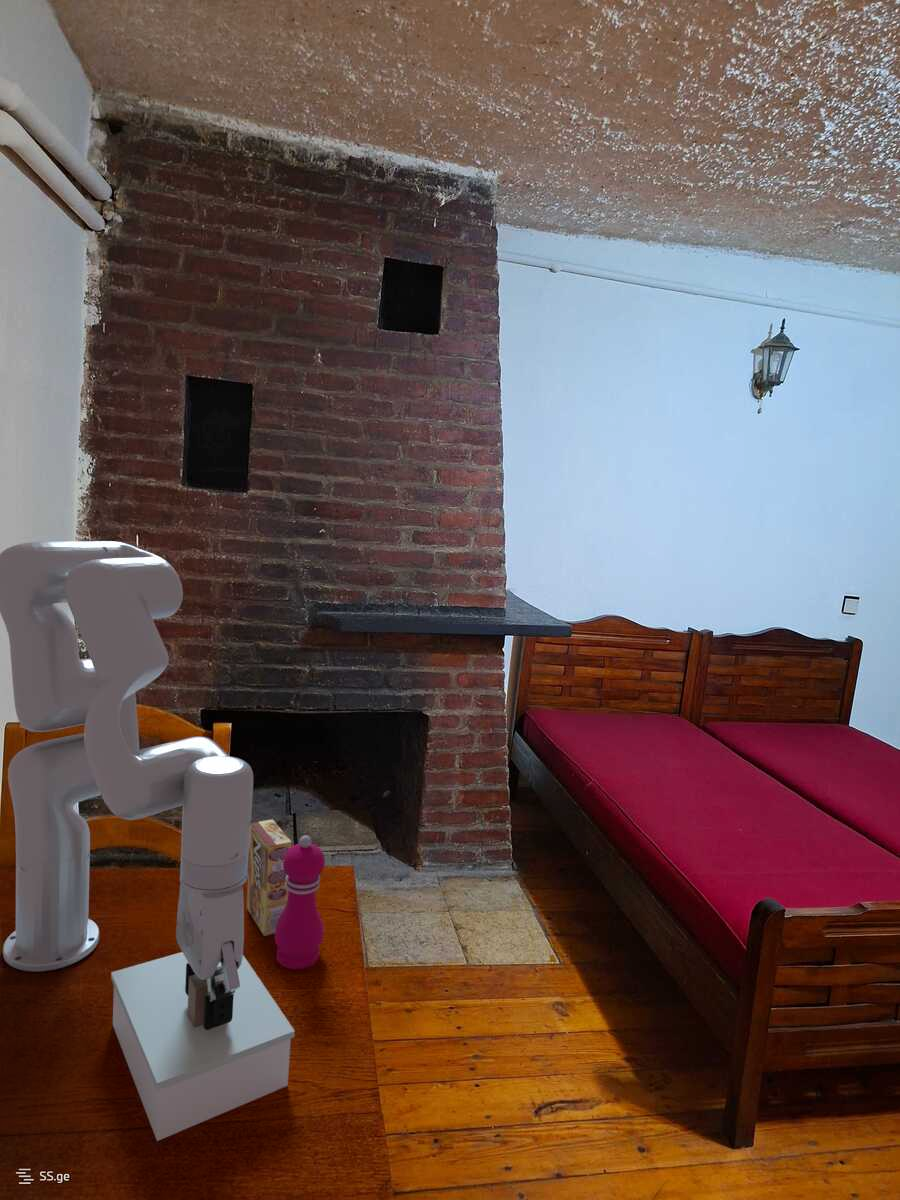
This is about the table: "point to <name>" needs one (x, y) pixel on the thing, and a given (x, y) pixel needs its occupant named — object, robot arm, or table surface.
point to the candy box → (267, 874)
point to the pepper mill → (300, 907)
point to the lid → (194, 1018)
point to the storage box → (201, 1082)
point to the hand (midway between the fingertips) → (208, 1005)
